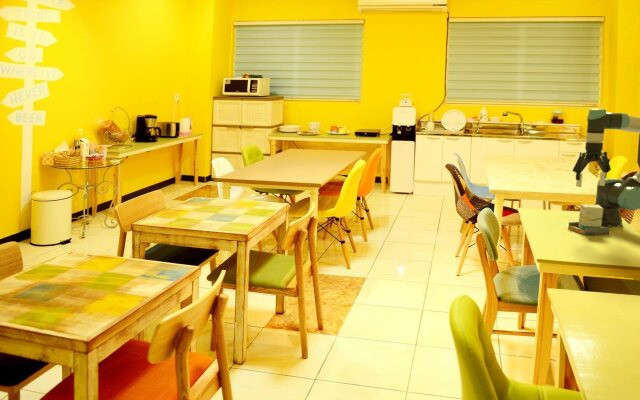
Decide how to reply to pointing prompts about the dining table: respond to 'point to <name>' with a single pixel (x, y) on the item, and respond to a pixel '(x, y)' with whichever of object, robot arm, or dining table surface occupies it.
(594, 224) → the ink box
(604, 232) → the grey and orange tray
